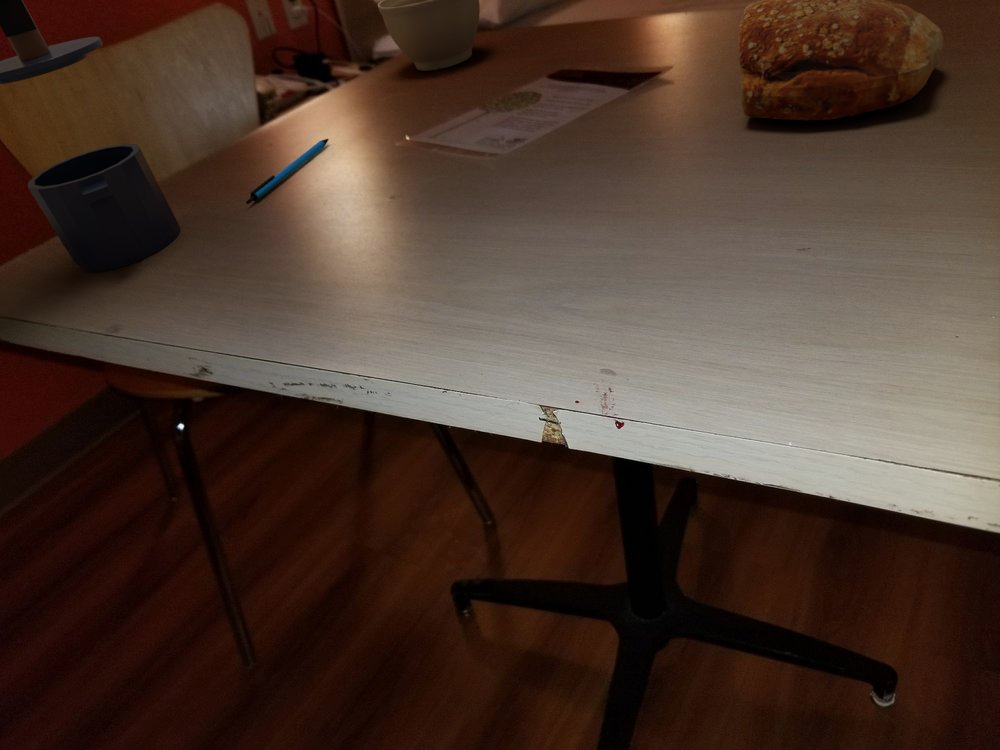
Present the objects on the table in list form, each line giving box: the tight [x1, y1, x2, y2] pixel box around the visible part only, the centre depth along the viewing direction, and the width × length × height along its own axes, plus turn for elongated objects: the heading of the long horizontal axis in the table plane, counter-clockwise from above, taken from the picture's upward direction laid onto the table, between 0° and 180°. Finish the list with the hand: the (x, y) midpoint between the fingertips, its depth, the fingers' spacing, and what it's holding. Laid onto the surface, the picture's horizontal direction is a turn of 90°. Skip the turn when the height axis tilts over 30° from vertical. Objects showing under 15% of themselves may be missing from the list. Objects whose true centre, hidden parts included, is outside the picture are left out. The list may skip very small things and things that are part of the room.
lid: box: [0, 0, 104, 85], centre depth 68 cm, size 12×12×11 cm
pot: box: [27, 143, 181, 273], centre depth 79 cm, size 11×17×10 cm
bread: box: [737, 0, 945, 122], centre depth 72 cm, size 20×18×10 cm
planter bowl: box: [377, 0, 481, 72], centre depth 118 cm, size 16×16×11 cm
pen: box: [245, 138, 329, 205], centre depth 90 cm, size 1×19×1 cm, turn 161°
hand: (21, 31), depth 69 cm, fingers closed on lid, 3 cm apart
